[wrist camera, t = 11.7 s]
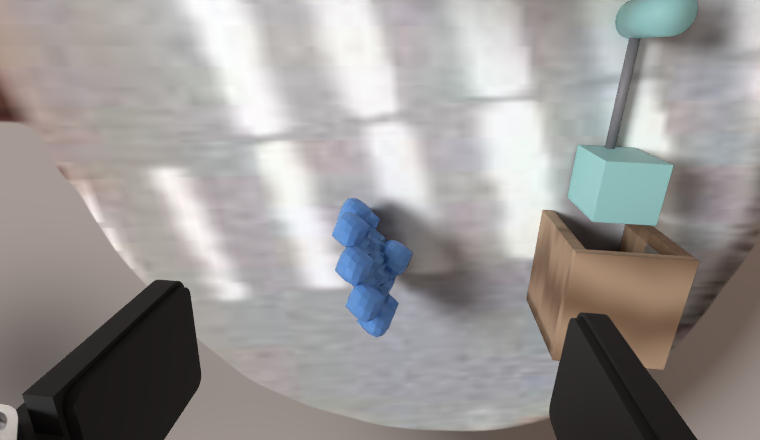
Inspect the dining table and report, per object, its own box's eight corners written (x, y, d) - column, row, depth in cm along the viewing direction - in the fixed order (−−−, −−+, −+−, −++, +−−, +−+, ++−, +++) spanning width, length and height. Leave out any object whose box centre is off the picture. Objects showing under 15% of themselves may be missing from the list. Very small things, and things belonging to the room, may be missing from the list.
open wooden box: (542, 209, 42) (576, 252, 33) (638, 215, 42) (699, 261, 33) (526, 299, 46) (552, 360, 37) (614, 305, 45) (663, 369, 36)
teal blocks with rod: (607, -3, 35) (645, -14, 29) (671, -1, 35) (723, -12, 29) (567, 197, 42) (592, 221, 36) (621, 200, 41) (656, 225, 35)
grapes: (429, 277, 46) (432, 349, 35) (368, 292, 47) (353, 366, 36) (396, 175, 42) (388, 218, 31) (332, 193, 44) (302, 242, 33)
